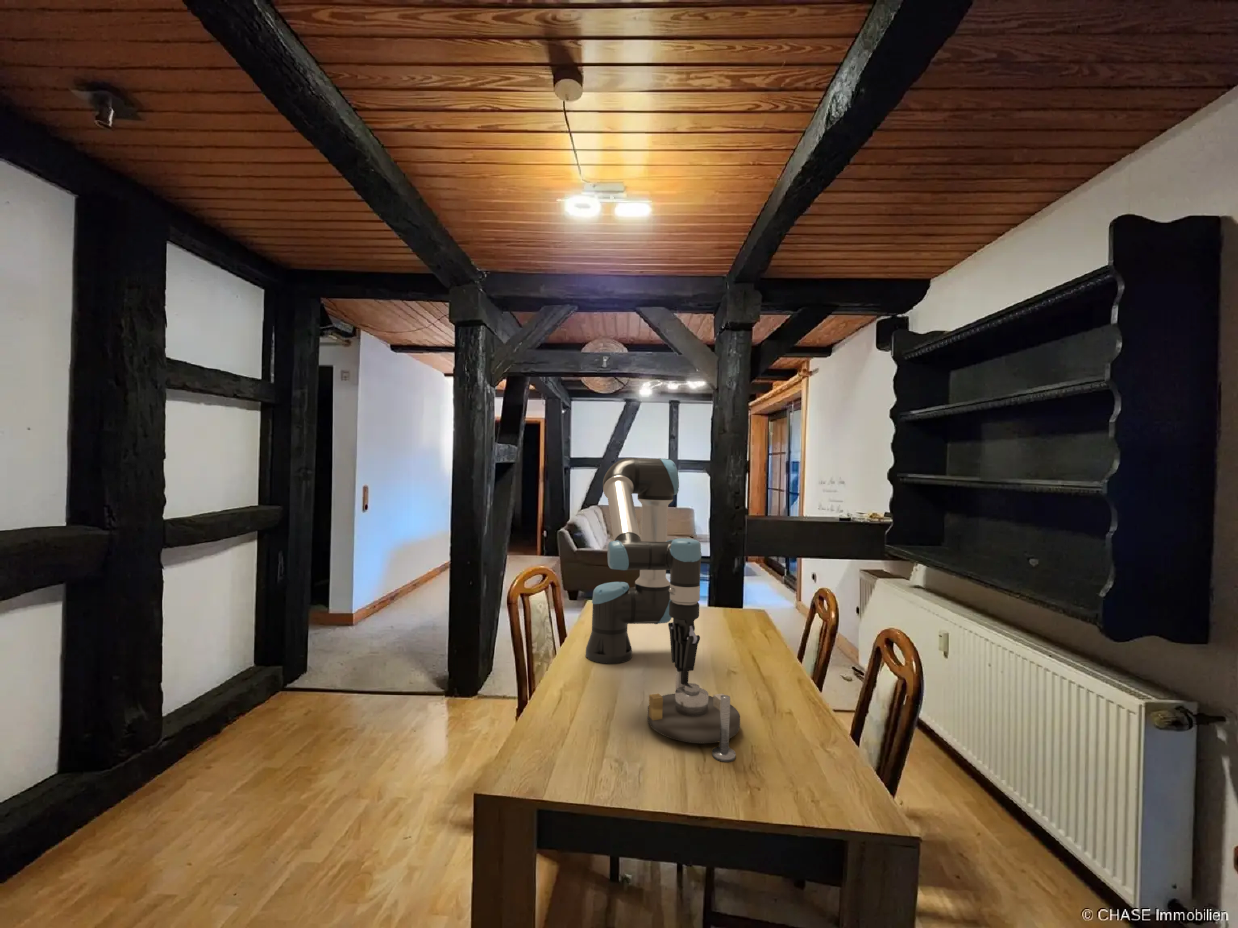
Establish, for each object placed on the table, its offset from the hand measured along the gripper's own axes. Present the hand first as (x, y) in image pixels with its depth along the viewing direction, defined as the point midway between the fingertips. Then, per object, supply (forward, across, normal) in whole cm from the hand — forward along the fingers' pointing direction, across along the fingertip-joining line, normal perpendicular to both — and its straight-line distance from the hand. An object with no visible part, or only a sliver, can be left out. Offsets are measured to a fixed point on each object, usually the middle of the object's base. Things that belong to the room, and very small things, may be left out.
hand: (681, 695), depth 139 cm
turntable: (+4, +6, 0) cm, 7 cm away
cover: (+2, +5, 0) cm, 5 cm away
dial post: (+5, +20, 0) cm, 21 cm away
